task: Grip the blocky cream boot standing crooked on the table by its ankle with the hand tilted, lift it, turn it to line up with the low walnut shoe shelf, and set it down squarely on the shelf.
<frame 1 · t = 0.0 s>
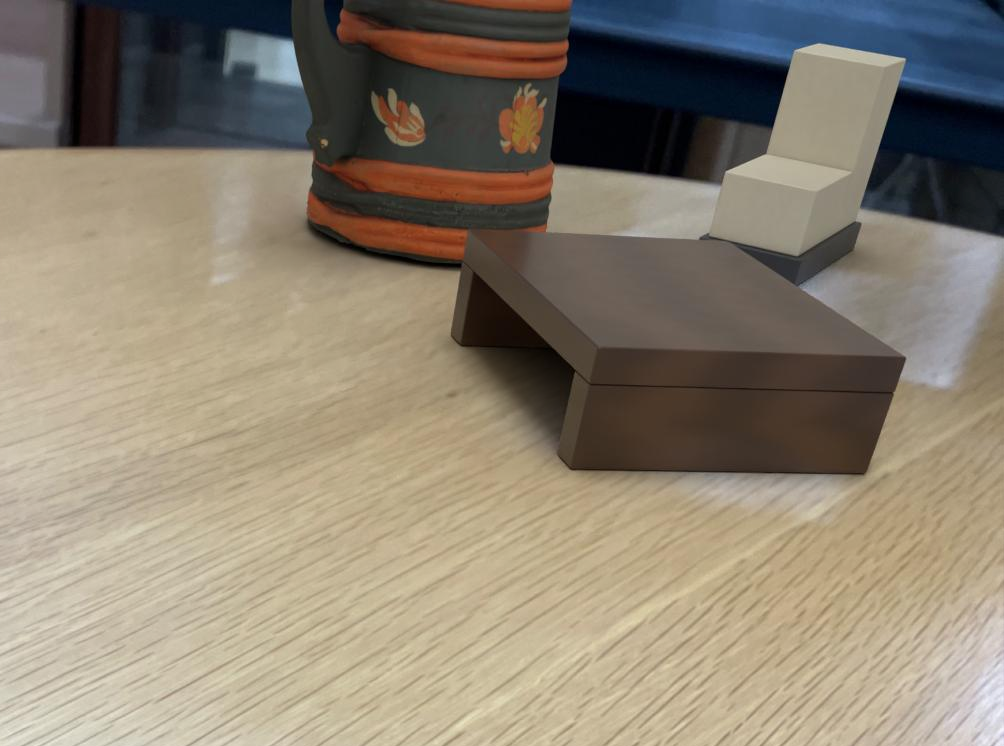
beer stein: (398, 243, 92), on the table
blocky cream boot: (775, 256, 97), on the table
shoe shelf: (643, 399, 72), on the table
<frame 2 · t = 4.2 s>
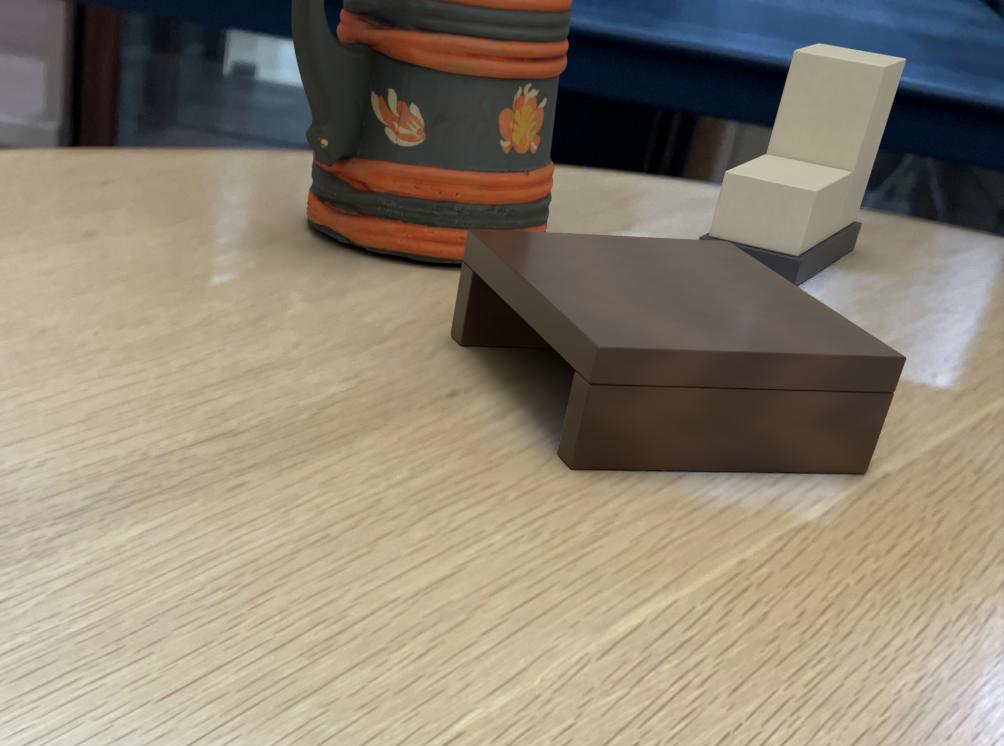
nothing on the table moved.
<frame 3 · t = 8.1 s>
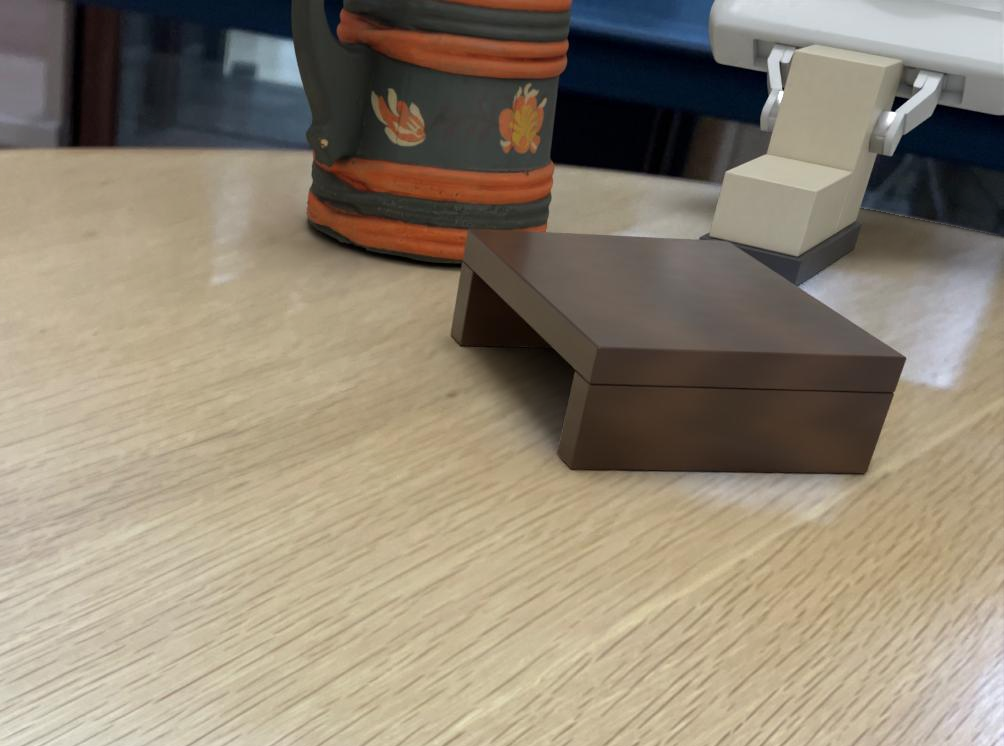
hand: (824, 136, 95), 6 cm above the table, tool tilted 45°, fingers closed on blocky cream boot, 5 cm apart
blocky cream boot: (776, 256, 97), on the table, touching gripper
everything else where it was.
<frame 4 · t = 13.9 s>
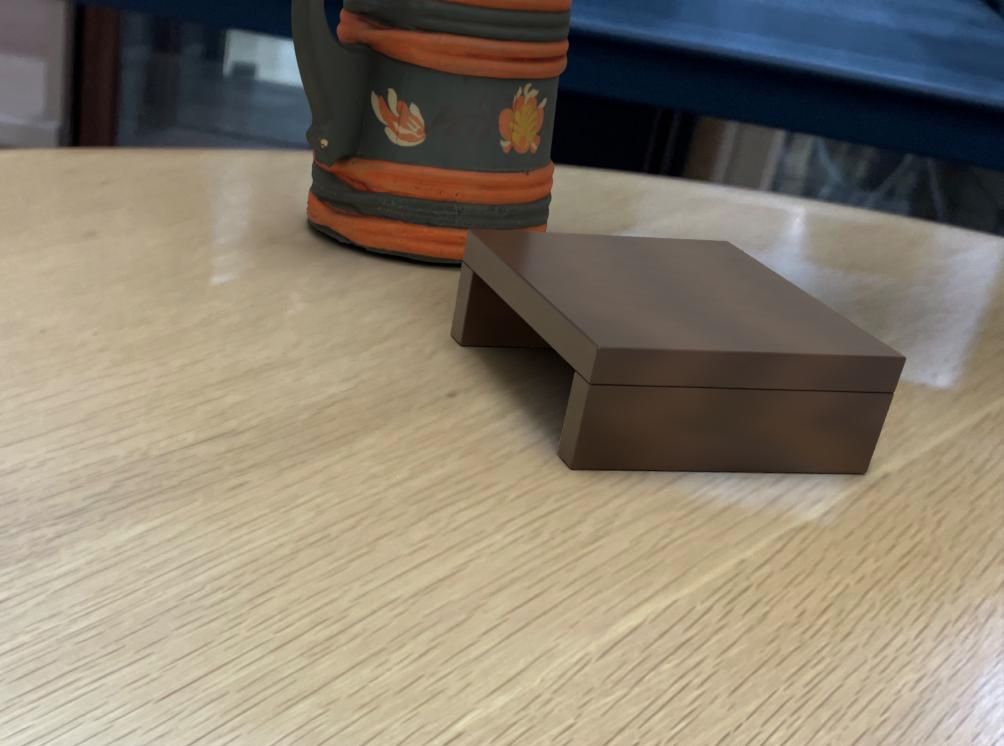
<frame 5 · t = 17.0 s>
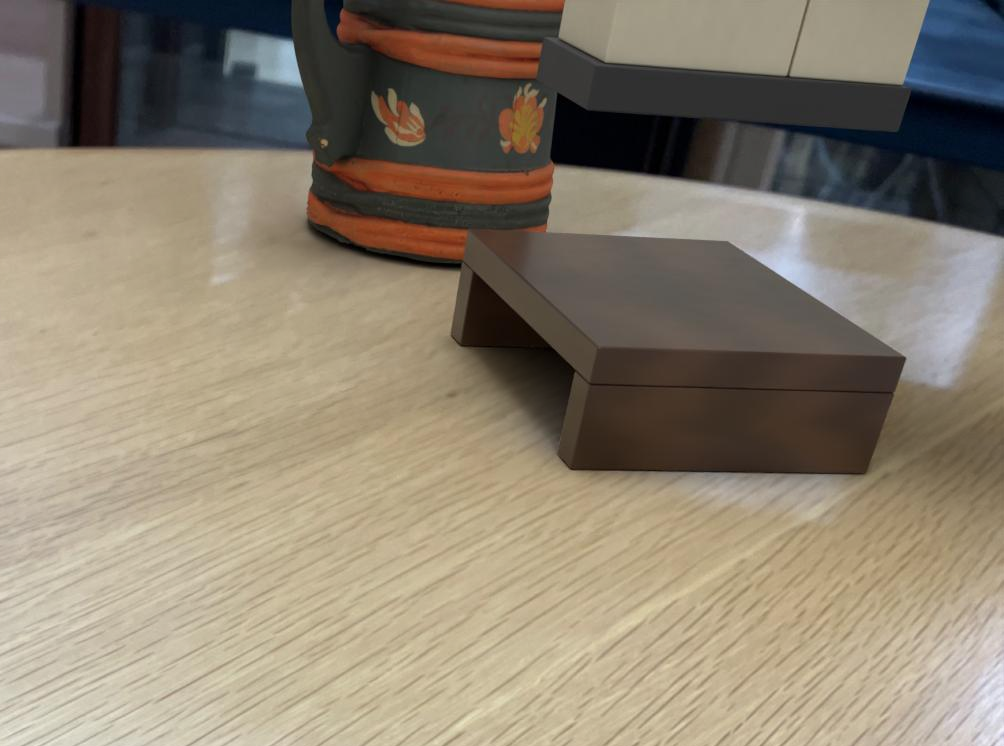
blocky cream boot: (714, 105, 65), point 12 cm above the table, touching gripper
everything else where it was.
when the fingers open (11 cm above the table, at t = 19.5 s): blocky cream boot stays where it is, resting on shoe shelf.
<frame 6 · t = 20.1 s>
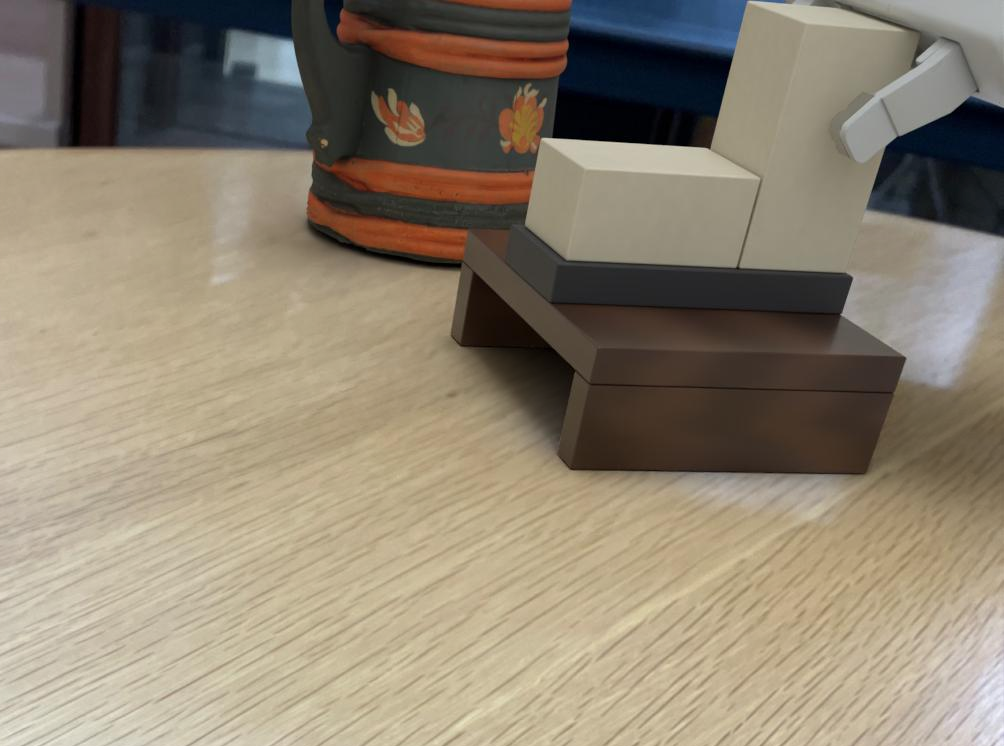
hand: (789, 122, 66), 12 cm above the table, tool tilted 45°, fingers open, 8 cm apart
blocky cream boot: (670, 287, 69), point 5 cm above the table, touching shoe shelf
everything else where it was.
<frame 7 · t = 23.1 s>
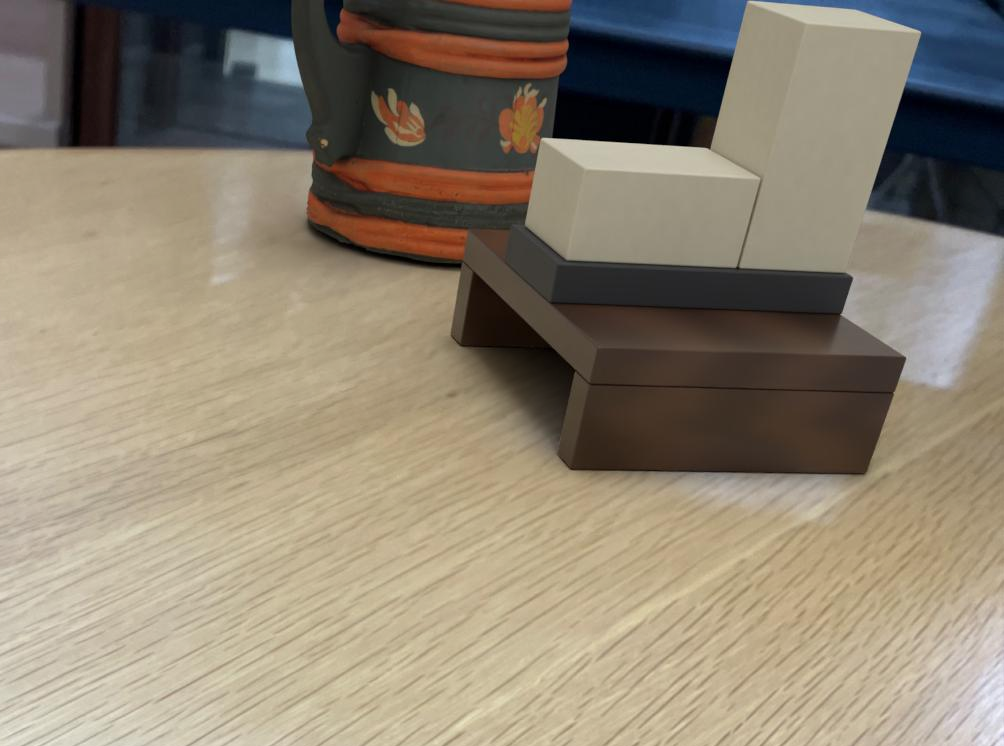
nothing on the table moved.
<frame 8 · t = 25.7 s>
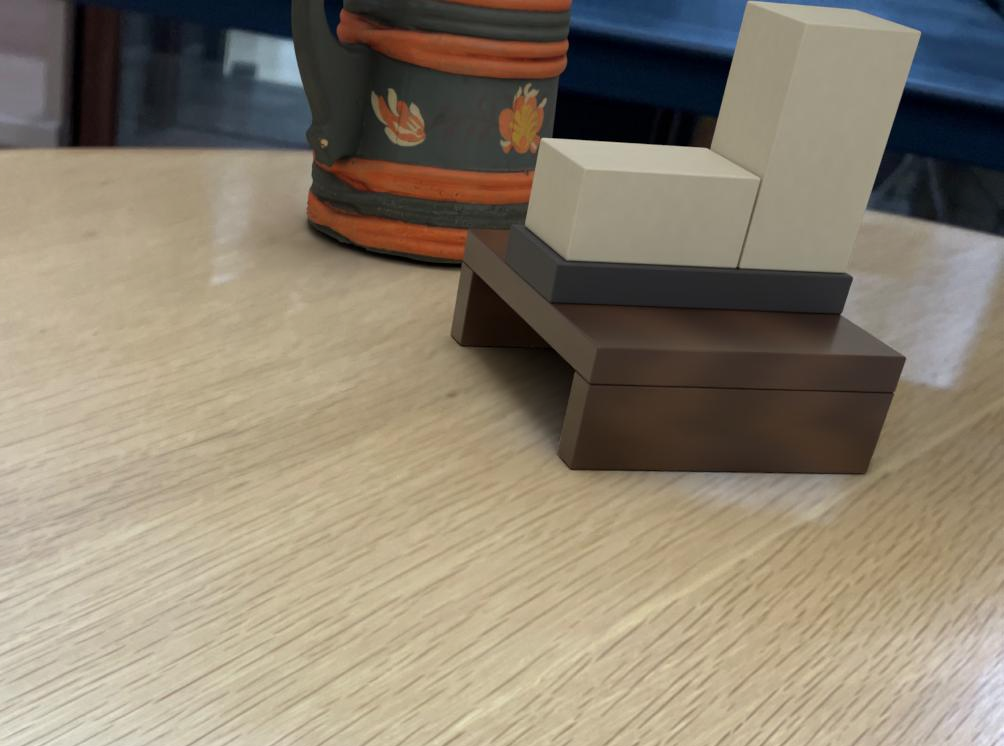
nothing on the table moved.
at the end: blocky cream boot 0.0 cm off-centre on the shoe shelf, point 5.0 cm above the shoe shelf's base; blocky cream boot tilted 0°; the gripper is holding nothing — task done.
